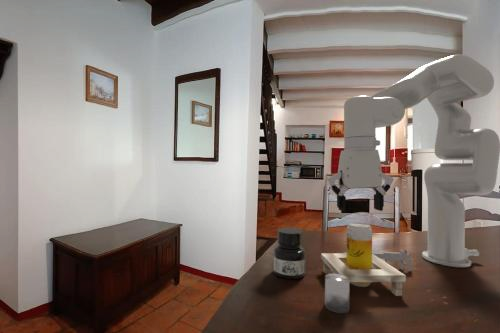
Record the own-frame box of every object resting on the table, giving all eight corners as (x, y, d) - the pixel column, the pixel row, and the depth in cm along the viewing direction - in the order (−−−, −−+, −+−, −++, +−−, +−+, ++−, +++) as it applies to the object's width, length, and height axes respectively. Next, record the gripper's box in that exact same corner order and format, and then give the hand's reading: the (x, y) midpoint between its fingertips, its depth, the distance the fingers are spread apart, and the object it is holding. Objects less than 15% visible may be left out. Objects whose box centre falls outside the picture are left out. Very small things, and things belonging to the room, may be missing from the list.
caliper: (411, 272, 72) (411, 250, 73) (410, 273, 72) (410, 251, 72) (344, 254, 87) (344, 236, 87) (342, 254, 87) (342, 236, 87)
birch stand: (371, 270, 73) (371, 253, 73) (405, 296, 58) (405, 275, 58) (320, 270, 72) (321, 253, 72) (341, 297, 57) (341, 275, 57)
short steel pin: (343, 300, 56) (343, 273, 56) (353, 312, 51) (353, 283, 51) (321, 300, 56) (321, 273, 56) (329, 313, 51) (329, 283, 51)
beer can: (342, 277, 68) (342, 222, 68) (363, 276, 68) (364, 222, 68) (353, 288, 62) (353, 227, 62) (376, 287, 62) (377, 227, 62)
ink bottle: (269, 277, 67) (269, 233, 67) (275, 265, 76) (275, 226, 76) (306, 282, 65) (306, 236, 65) (307, 269, 73) (307, 228, 73)
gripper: (383, 145, 69) (384, 207, 69) (322, 146, 69) (322, 208, 69) (401, 143, 62) (401, 212, 62) (332, 144, 61) (332, 213, 61)
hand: (360, 210), depth 65 cm, fingers open, 9 cm apart
